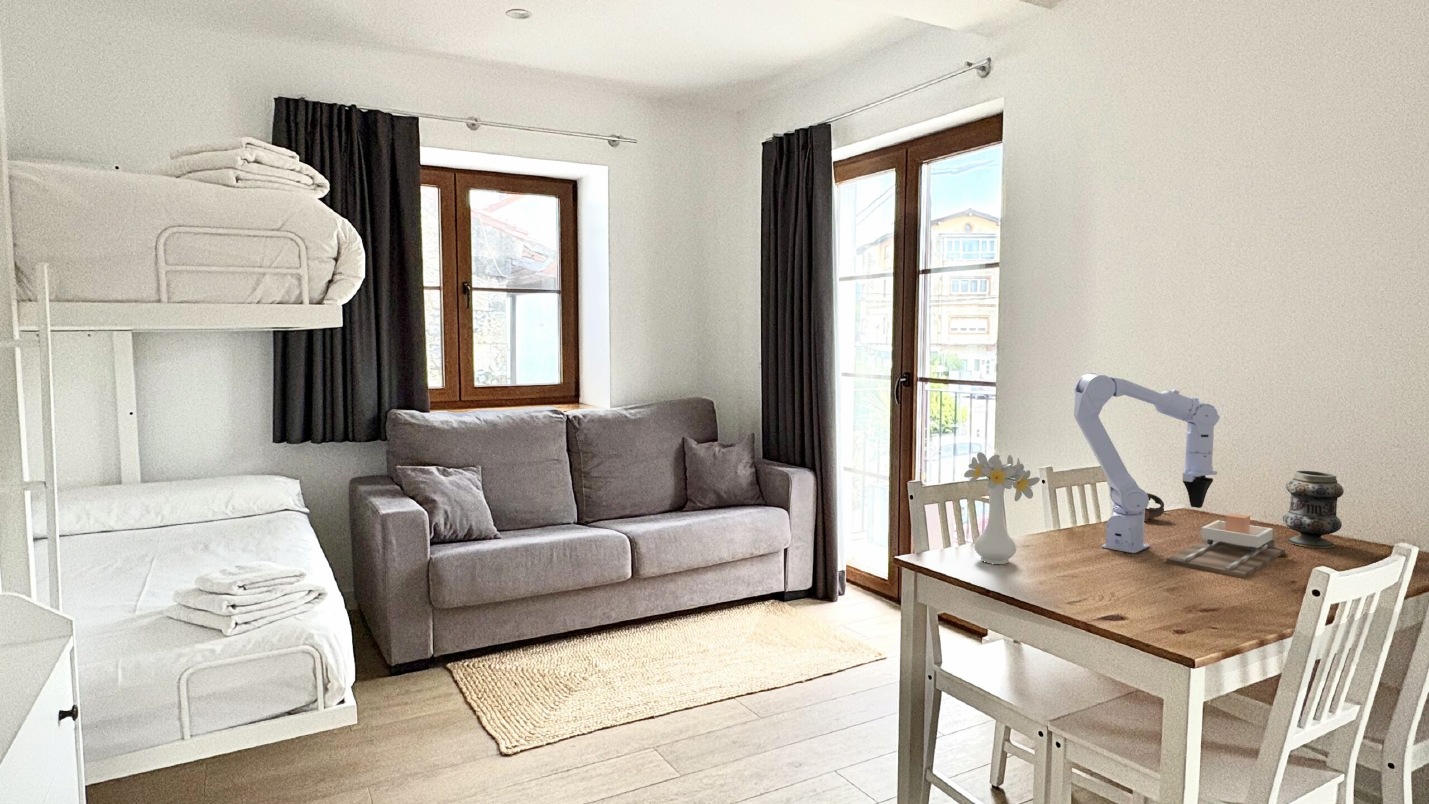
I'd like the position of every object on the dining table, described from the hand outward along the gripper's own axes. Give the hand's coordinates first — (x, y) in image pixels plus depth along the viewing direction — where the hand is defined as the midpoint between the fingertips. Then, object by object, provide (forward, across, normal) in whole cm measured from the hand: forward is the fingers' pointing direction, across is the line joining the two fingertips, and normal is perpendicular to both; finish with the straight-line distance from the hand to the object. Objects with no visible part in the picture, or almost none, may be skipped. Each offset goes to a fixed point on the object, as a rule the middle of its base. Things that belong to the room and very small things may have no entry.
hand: (1196, 507), depth 207 cm
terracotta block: (+6, +4, -8) cm, 11 cm away
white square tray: (+9, +4, -8) cm, 12 cm away
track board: (+10, -3, -8) cm, 13 cm away
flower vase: (+11, -45, +27) cm, 54 cm away
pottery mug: (+11, +24, +22) cm, 35 cm away
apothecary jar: (+11, +26, -18) cm, 33 cm away
